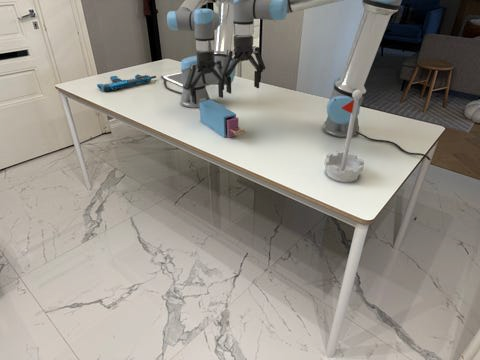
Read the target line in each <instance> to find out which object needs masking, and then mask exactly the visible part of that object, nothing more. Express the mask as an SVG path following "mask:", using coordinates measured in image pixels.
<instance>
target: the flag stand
mask: <svg viewBox="0 0 480 360" xmlns="http://www.w3.org/2000/svg"><path fill="white" fill-rule="evenodd" d="M352 97H353V98H354V100H353V101H351V102H350V103H348V104H347V105H345V106H344V107H342V108H341V109H343V110H346V111H348V112H350V113H351V117H350V122H349V127H348V133H347V138H345V144H344V149H343V150H340V151H338V150H337V151H336V153H335V154H334V153H333V152H329V153H327V154H326V158H325V159H324V162H323V163H324V168H325V169H326V170H325V173H326V175H327V176H328V178H330V179H332V180H334V181H337V182H341V183H350V182H354V181H356V180H357V179H358V178H359V175H360V174H361V173H362V172H363V171H364V166H365V161H364V159H363V158H358V155H357V154H356V153H352V152H350V154H349V151H350V147H351V142H352V138H353V137H352V132H353V127H354V122H355V117H356V112H357V107H358V101H359V99H360V98H361V97H362V92H361V91H360V90H355V91H354V92H353V94H352Z"/></svg>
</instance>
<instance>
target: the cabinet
mask: <svg viewBox="0 0 480 360" xmlns="http://www.w3.org/2000/svg"><path fill="white" fill-rule="evenodd" d="M199 106H200V107H199V117H200V118H199V121H200V122H201V123H202V124H204V125H205V126H207V127H208V128H210V129H211V130H212V131H214V132H216V133H217V134H219V135H220V136H221V137H223V138H229V137H228V136H227V134H226V119H225V118H229V117H234V118H237V113H235V112H234V111H232V110H230V109H229V108H227V107H225V106H223V105H221V104H220V103H218V102H216V101H214V100H213V99H210V100H206V101H202V102H199Z"/></svg>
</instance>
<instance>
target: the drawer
mask: <svg viewBox="0 0 480 360" xmlns="http://www.w3.org/2000/svg"><path fill="white" fill-rule="evenodd" d="M225 119H226V134H227V136H228V137H227V138H232V137H235V136H239V135H242V134H245V133H246V129H244V128H243V129H242V128H241V127H239V117H236V118H234V117H229V118H225Z"/></svg>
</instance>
